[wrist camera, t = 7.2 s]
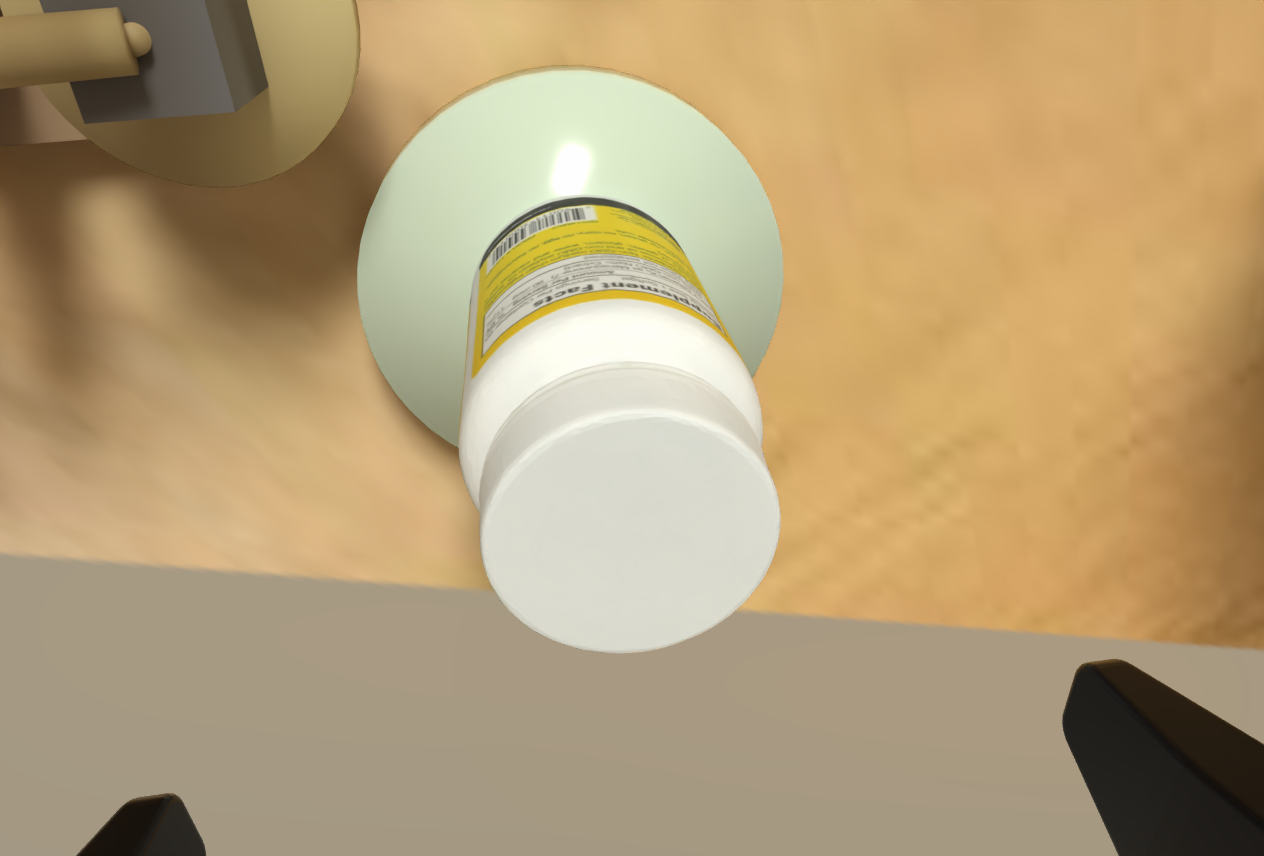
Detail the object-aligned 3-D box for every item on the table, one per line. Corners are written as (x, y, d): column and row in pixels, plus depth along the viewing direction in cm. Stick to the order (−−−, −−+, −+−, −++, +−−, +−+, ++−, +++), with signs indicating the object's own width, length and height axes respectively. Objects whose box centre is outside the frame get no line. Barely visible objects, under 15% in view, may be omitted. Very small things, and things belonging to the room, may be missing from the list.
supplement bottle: (640, 423, 20) (712, 706, 13) (441, 361, 19) (400, 640, 12) (731, 236, 18) (876, 450, 11) (516, 150, 17) (521, 332, 10)
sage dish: (775, 48, 17) (792, 56, 16) (763, 428, 22) (776, 453, 21) (320, 83, 17) (308, 95, 16) (407, 468, 21) (403, 496, 20)
